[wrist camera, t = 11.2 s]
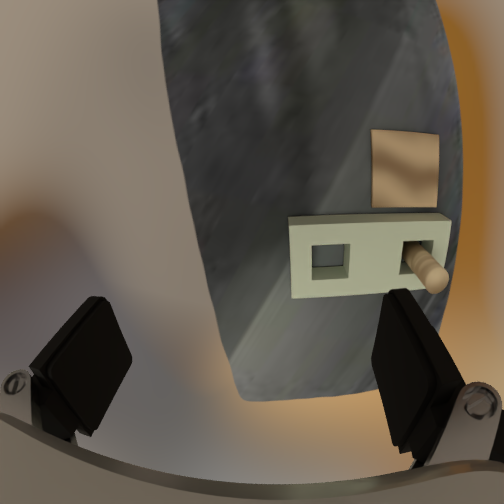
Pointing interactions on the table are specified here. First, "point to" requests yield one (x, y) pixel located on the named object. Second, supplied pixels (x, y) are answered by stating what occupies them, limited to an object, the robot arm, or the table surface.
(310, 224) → the hole block
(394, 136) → the cork mat
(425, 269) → the peg
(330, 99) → the table surface
